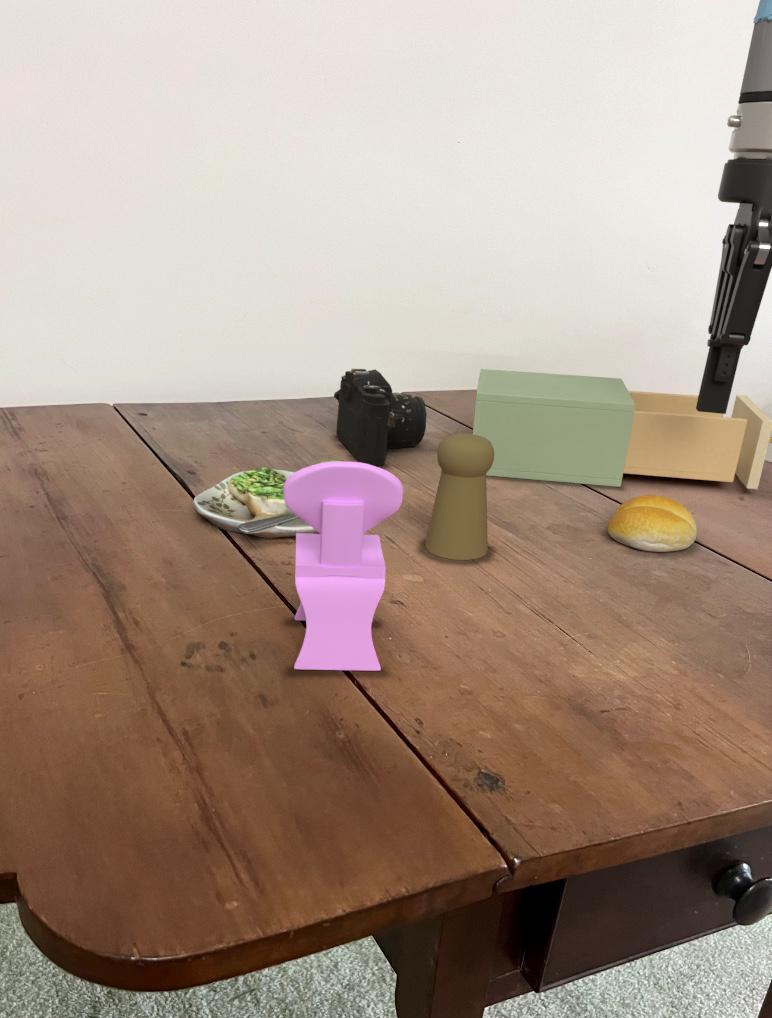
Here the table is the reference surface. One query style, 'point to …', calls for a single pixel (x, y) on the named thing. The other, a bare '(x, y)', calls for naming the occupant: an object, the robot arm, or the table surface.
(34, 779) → the table surface
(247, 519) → the salad plate
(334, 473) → the toy chair
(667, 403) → the drawer
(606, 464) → the cabinet
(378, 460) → the film camera
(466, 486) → the cork
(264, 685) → the table surface
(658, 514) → the bread roll
